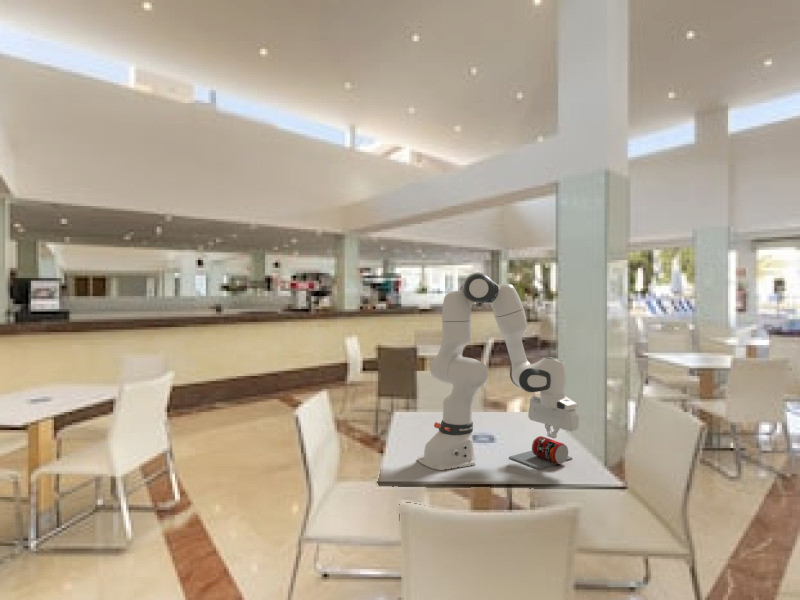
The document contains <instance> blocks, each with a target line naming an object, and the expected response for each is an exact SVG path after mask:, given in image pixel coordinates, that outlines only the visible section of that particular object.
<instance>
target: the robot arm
mask: <svg viewBox="0 0 800 600" xmlns="http://www.w3.org/2000/svg"><path fill="white" fill-rule="evenodd" d="M475 303H477V304H483V303H484V304H485V303H486V304H489V305H490V306H491V309H492V312H493V315H494V319H495V323H496V324H497V326H498V329H499V331H500V333H501V335H502V338H503V340H504V343H505V346H506V351H507V353H508V356H509V361H510V362H509V363H510V368H509V378H510V381H511V382H512V384H514V385H515V386H516V387H518V388H520V389H522V390H523V391H525V392H527V393H536V392H537V393H538V392H540V397H539V396H531V398H530V399H529V406H528V413H527V415H528V419H529V420H530V421H533V422H537V423H540V424H544V428H545V430H546V432H547V433H546V434H547V435H546V436H547V438H548V437H549V438H551V439H556V438H557V437H558V436H557V435H558V432H559V431H560V429H561V430H565V431H569V432H575V431H577V430H578V429H579V428H580V427H579V424H580V423H579V422H580V421H579V419H580V418H579V412H578V411H577V408H578V403H577V402H575V401H574V400H572V399H571V398H569V397H568V396H566V390H565V385H566V382H567V381H566V378H567V377H566V375H567V374H566V366H565V363H564V361H563V360H562V359H559V358H556V357H551V356H544V357H542V358H541V359H540V360H539V361H536V362H534V363H532V364H531V362H529V360H528V359H527V354H526V351H525V347H524V343H523V334H524V332H525V330H526V329H527V327H528V324H527V316H526V312H525V309H524V306H523V303H522V300H521V298H520V295H519V293H518V292H517V290H516V287H515V286H513V284H511V283H500V284H497V283H496V282H495V281H493V279H492V278H491V277H490V276H488V275H487V274H486V273H483V272H472V273H470V274H468V276H467V277H466V278H465V279H464V281H463V283H462V285H461V287H460V288H459V290H454V291H450V292H448V293H446V294H445V296H444V297H443V303H442V311H441V312H442V313H441V321H442V322H441V324H442V325H441V327H442V329H441V330H442V333H441V334H442V335H441V337H442V338H441V343H440V344H441V345H440V348H439V351H438V353H437V354H436V355H435V356H434V357H433V359H432V360H431V362H430V365H429V366H430V367H429V370H430V374H431V376H432V377H433V378H434V379H436V380H437V381H440V382H442V383H445V384H449V385H452V390H451V393H450V394H449V395H448V396H446V397H445V398H444V399H443V402H442V419H441V422H440V423H439V422H434V423H433V427H434V428H435V429H438V431H437V432H436V433H435V434H434V435H433V436H432V438H430V439H429V441H428V442H427V443H426V444H425V446H424V452H423V454H422V455H419V456H417V461H418V462H419V463H420V464H422V465H423V466H425V467H428V468H430V469H433V470H439V471H444V470H445V469H446V470H452V469H458V468H457V467H459V468H464V467H470V466H471V465H472V466H474V465H476V455H475V451H474V450H475V449H474V443H473V430H474V421H473V418H472V417H473V403H474V399H475V396H476V394H477V392H478V390H479V389H481V388H482V387H483V386H484V385H485V384H486V382H487V380H488V377H489V370H488V367H487V365H486V364H485V363H484V362H482V361H480V360H478V359H475V358H472V357H466V356H463V352H464V349H465V347H466V346H467V345H469V344H470V343H471V341H472V339H473V335H472V308H473V305H474V304H475ZM552 429H553V431H552ZM451 468H452V469H451ZM446 470H445V471H446Z"/></svg>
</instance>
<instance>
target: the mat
mask: <svg viewBox="0 0 800 600" xmlns="http://www.w3.org/2000/svg"><path fill="white" fill-rule="evenodd" d="M508 459H510V460H512V459H513V460H512V461H515V460H516V461H515V462H517V461H518V462H517V463H520V462H521V463H520V464H523V463H524V464H523V465H525V464H526V466H528V465H529V466H528V467H530V466H532V467H531V468H533V467H534V468H533V469H536V468H537V469H536V470H538V469H539V470H542V469H545V467H546V468H548V467H552V466H556V465H558V464H557V463H554V462H551V461H549V460H546V459H543V458H541V457H538V456H536V455H534V454H533V452H532V450H529V451H525V452H521V453H517V454H514V455H511V456H508ZM571 460H573V457H572V456H569V455H568V457H567V459H566V461H565V462H567V461H571Z"/></svg>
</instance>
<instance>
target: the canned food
mask: <svg viewBox="0 0 800 600" xmlns="http://www.w3.org/2000/svg"><path fill="white" fill-rule="evenodd" d="M531 451H532V452H533V454H534V455H536V456H538V457H541V458H543V459H546V460H549V461H551V462H554V463H557V464H556V465H561V464H564V463H565V462H567V461H566V459H567V457H568V456H569V449H568V446H567V445H566V444H565V443H563V442H560V441H558V440H555V439H552V438H551V439H550V437H549V438H548V437H545V436H542V435H541V436H537V437H535V438H534V440H533V441H532V444H531Z"/></svg>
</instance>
